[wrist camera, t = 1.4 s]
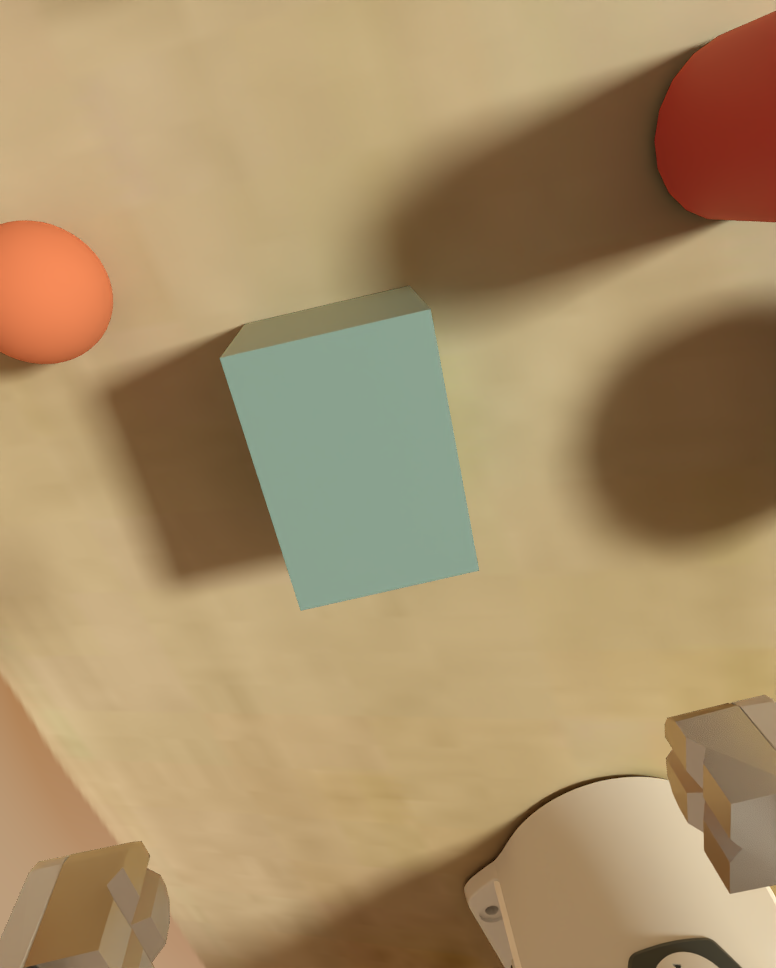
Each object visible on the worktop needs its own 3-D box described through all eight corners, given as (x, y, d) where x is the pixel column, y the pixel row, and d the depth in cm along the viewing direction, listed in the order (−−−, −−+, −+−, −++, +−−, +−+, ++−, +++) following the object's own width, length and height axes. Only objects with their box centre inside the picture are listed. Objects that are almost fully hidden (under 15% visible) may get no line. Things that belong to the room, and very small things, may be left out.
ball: (147, 333, 27) (109, 360, 23) (30, 361, 27) (-31, 392, 23) (101, 205, 25) (49, 206, 21) (-25, 235, 26) (-104, 242, 21)
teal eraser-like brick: (451, 499, 31) (478, 570, 25) (307, 532, 32) (300, 611, 25) (409, 285, 27) (430, 308, 21) (244, 323, 28) (219, 357, 21)
